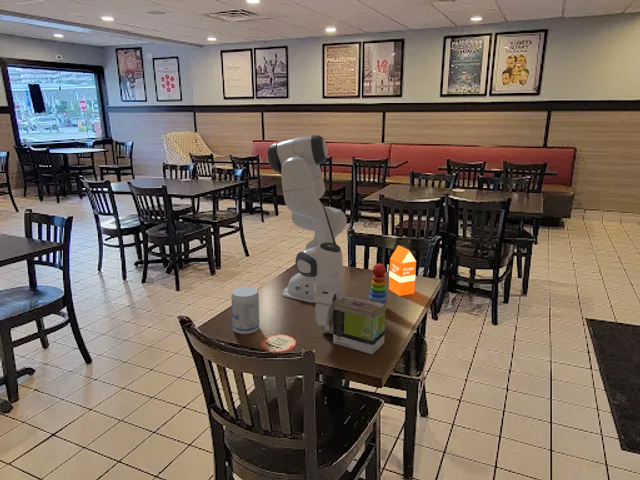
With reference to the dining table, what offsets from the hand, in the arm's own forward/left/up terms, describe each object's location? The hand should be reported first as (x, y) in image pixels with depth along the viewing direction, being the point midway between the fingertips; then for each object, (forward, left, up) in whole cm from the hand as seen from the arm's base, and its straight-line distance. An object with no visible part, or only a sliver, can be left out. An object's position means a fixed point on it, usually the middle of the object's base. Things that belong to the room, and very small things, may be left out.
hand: (330, 325), depth 162 cm
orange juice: (+18, +47, -3) cm, 51 cm away
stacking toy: (+12, +25, -3) cm, 28 cm away
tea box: (+12, -5, -3) cm, 13 cm away
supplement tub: (-29, -8, -3) cm, 30 cm away
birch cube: (0, 0, -2) cm, 2 cm away
